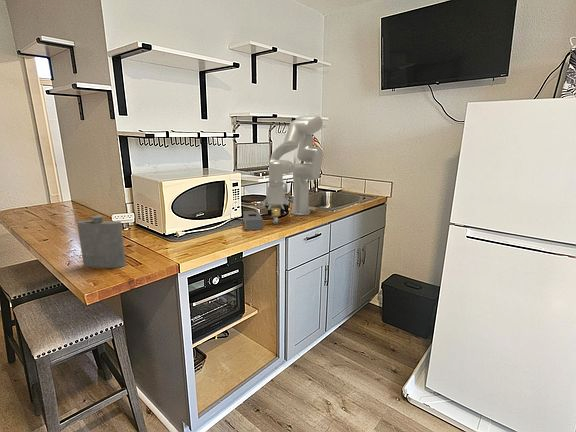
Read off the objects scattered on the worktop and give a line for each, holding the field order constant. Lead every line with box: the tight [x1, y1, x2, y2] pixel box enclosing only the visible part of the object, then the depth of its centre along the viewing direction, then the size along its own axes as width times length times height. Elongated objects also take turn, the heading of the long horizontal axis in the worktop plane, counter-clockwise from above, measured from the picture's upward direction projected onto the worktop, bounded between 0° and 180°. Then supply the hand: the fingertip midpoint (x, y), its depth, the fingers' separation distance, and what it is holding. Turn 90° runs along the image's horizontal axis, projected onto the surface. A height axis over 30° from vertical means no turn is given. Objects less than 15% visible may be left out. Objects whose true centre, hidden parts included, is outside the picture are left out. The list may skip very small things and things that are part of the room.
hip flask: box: [76, 214, 127, 269], centre depth 125 cm, size 16×4×20 cm, turn 89°
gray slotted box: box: [242, 210, 264, 231], centre depth 184 cm, size 9×20×6 cm, turn 12°
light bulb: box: [270, 207, 282, 226], centre depth 186 cm, size 6×6×8 cm
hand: (275, 215), depth 186 cm, fingers closed on light bulb, 6 cm apart
